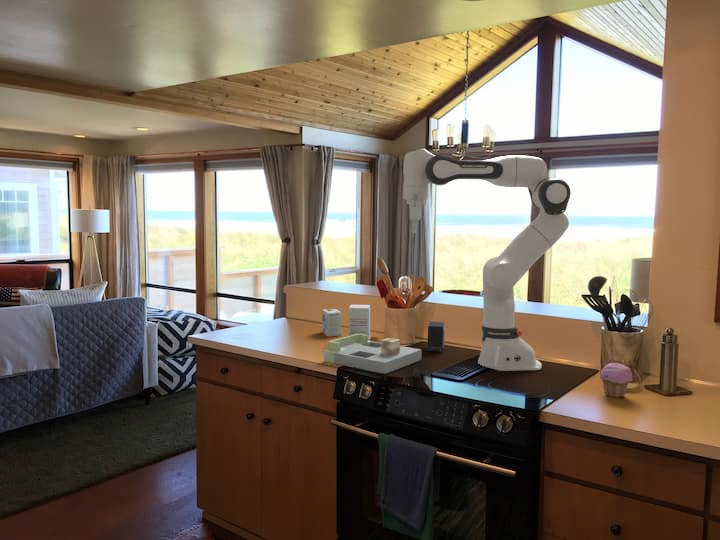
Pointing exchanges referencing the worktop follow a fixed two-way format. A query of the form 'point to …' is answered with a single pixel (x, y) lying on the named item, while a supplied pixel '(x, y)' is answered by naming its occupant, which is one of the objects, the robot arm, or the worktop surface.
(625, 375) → the cupcake
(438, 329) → the small box
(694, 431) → the worktop surface
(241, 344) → the worktop surface
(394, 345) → the birch block
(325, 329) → the light bulb box
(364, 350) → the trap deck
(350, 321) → the supplement box
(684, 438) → the worktop surface
